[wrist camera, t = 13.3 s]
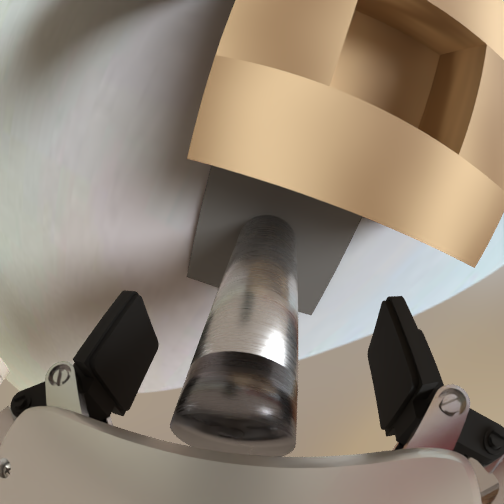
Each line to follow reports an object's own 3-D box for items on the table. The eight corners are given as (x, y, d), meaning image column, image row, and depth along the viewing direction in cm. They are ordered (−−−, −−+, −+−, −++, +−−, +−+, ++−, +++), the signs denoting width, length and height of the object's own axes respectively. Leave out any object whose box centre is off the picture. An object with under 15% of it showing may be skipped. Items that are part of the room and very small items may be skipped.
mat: (189, 272, 19) (187, 276, 19) (219, 144, 15) (216, 145, 14) (310, 309, 19) (311, 315, 19) (367, 195, 15) (370, 198, 14)
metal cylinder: (235, 216, 16) (150, 404, 6) (294, 212, 15) (295, 417, 5) (243, 267, 18) (191, 453, 7) (297, 264, 17) (295, 462, 7)
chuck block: (230, 138, 14) (187, 158, 8) (289, -35, 9) (287, -102, 2) (447, 226, 15) (505, 284, 9) (499, 76, 9) (570, 81, 3)
